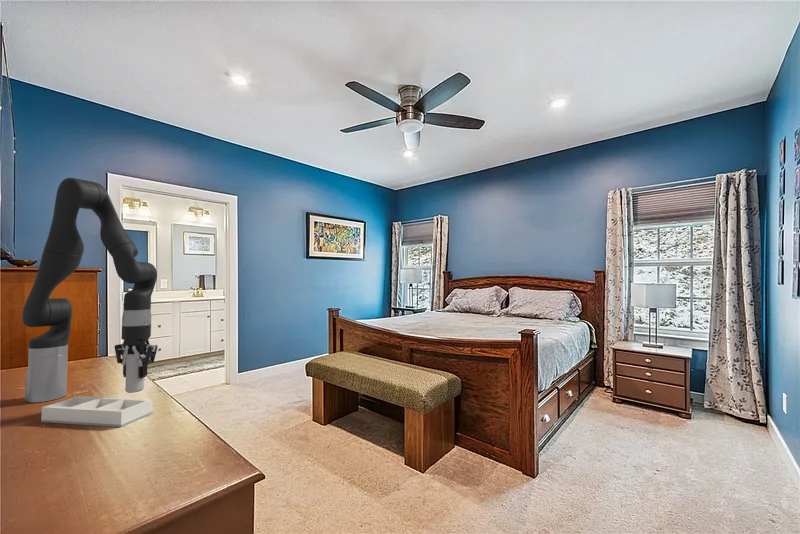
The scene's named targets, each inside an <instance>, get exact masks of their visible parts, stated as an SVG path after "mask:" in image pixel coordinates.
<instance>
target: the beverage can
mask: <svg viewBox="0 0 800 534" xmlns="http://www.w3.org/2000/svg"><path fill="white" fill-rule="evenodd" d="M144 355H145V354H143V355H140V356H144ZM142 360H143V362H144V358H142ZM139 367H140V366H139V363H138V360H136V357H135V354H127V356H126V377H125V385H124V387H125V388H124V389H125V393H128V394H134V393H137V392H142V391H143V390H144V388H145V378H146V377H144V378H138V372H139Z"/></svg>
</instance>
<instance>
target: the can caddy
mask: <svg viewBox="0 0 800 534" xmlns="http://www.w3.org/2000/svg"><path fill="white" fill-rule="evenodd" d="M153 402H154V400H153V399H150V398H149V399H145V398H143V399H142V398H125V397H107V396H106V397H104V396H86V395H85V396H81V395H78V396H74V397H70V398H68V399H65V400H62V401H58V402H55V403H50V404H48V405H45V406H41V419H40V420H41V423H48V424H49V423H50V422H51V423H54V424H65V425H81V426H82V425H83V426H95V427H98V426H99V427H113V428H123V427H124V426H127V425H129V424H131V423H134V422H136V421H138V420H141V419H143V417H144V418H145V416H146V417H147V415H148V416H150V415H149V414H151V413H152V414H153V412H154V411H153V407H154V405H153ZM152 414H151V415H152Z"/></svg>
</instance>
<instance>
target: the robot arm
mask: <svg viewBox="0 0 800 534" xmlns="http://www.w3.org/2000/svg"><path fill="white" fill-rule="evenodd" d="M55 196H56V197H55V202H54V209H53V214H52V219H51V224H50V228H49V231H48V232H49V233H48V234H47V235H48V236H47V239H46V241H45V244H44V247H43V251H42V254H41V258H40V262H39V265H38V269H37V273H36V276H35V280H34V283H33V284H32V287H31V289H30V292H29V293H28V296H27V299H26V301H25V304H24V305H23V309H22V315H21V319H22V323H23V324H24V325H25V326H26V327H28V328H39V327H40V328H43V327H50V328H49V329H48V330H47V331H46V332H44V333H43V334H41V335H38V336H35V337H32V338H31V339H30V340H29V342H28V363H27V364H28V367H27V371H26V372H25V392H24V401H26V402H27V403H30V404H31V403H33V404H34V403H43V402H48V401H49V402H50V401H53V400H57V399H61V398H64V397H66V396H67V385H68V358H69V357H68V356H69V354H68V353H69V339H70V334H71V327H72V326H71V325H72V324H71V323H72V318H73V317H72V315H73V307H72V304H71V302H70V300H69V299H67V298H63V297H59V298H58V297H57V298H53V297H52V298H50V296H51V294H52V293H53V291H54V290H55V289H56V288H57V286H59V285H60V284H61V283H62V282H63V281H65V280H66V279H67V278H68V277H70V276H71V275H72V274H73V273H75V271H76V270H78V268H79V267H80V264H81V262H82V258H83V255H84V251H85V245H84V241H83V239H82V237H81V234H80V232H79V230H78V228H77V219H78V215H79V211H80V209H85V210H91V211H92V212H94V214H95V215H96V216H97V217H98V219H99V221H100V231H99V236H100V240H101V243H102V245H103V246H104V248H105V249H106V250H107V252H108V253H109V255H110V256H111V257H112V261H113V264H114V267H115V268H114V269H115V271H116V274H117V276H118V278H119V279H121V281H123V282H125V283H127V284H131V285H133V284H134V285H133V287H132V289H131V290H130V291H127V292H126V293H125V294H124V296H123V311H122V315H121V337H120V338H121V340H123V342H122V343H120V344H115V345H114V353H115V356H116V357H115V358H116V363H117V364H121V365H122V375H123V378H126V356H127V354H135V357H136V360H138V363H139V366H140V367H139V372H138V378H144V377H145V378H146V377H147V375H148V366H149V365H150V364H153V363H154V362H155V359H156V355H157V351H158V347H159V346H158V345H157V344H155V345H153V344H150V340H149V339H150V337H151V336H152V309H151V308H152V296H153V295H152V294H153V292H154V291H155V290H154V289H155V286H156V283H157V279H158V271H157V269H156V267H155V265H154V264H152V263H150V262H144V261H138V260H136V257H137V256H138V254H139V250H138V248H137V246H136V245H135V243H134V242H133V240H132V238H131V237H130V236H129V234H128V232H127V231H126V230H125V228H124V226H123V225H122V222H121V220H120V218H119V216H118V213H117V211H116V208H115V207H114V206H115V205H114V204H113V202H112V200H111V197H110V194H109V192H108V191H107V189H106V188H105V187H104V186H103V185H102V184H100V183H98V182H94V181H91V180H88V179H87V180H86V179H81V178H76V177H75V178H74V177H67V178H64V179H63V180H62V181H60V183H59V185H58V187H57V191H56V194H55ZM143 354H145V355H144V356H140V355H143ZM142 358H144V362H143V360H142Z"/></svg>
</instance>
